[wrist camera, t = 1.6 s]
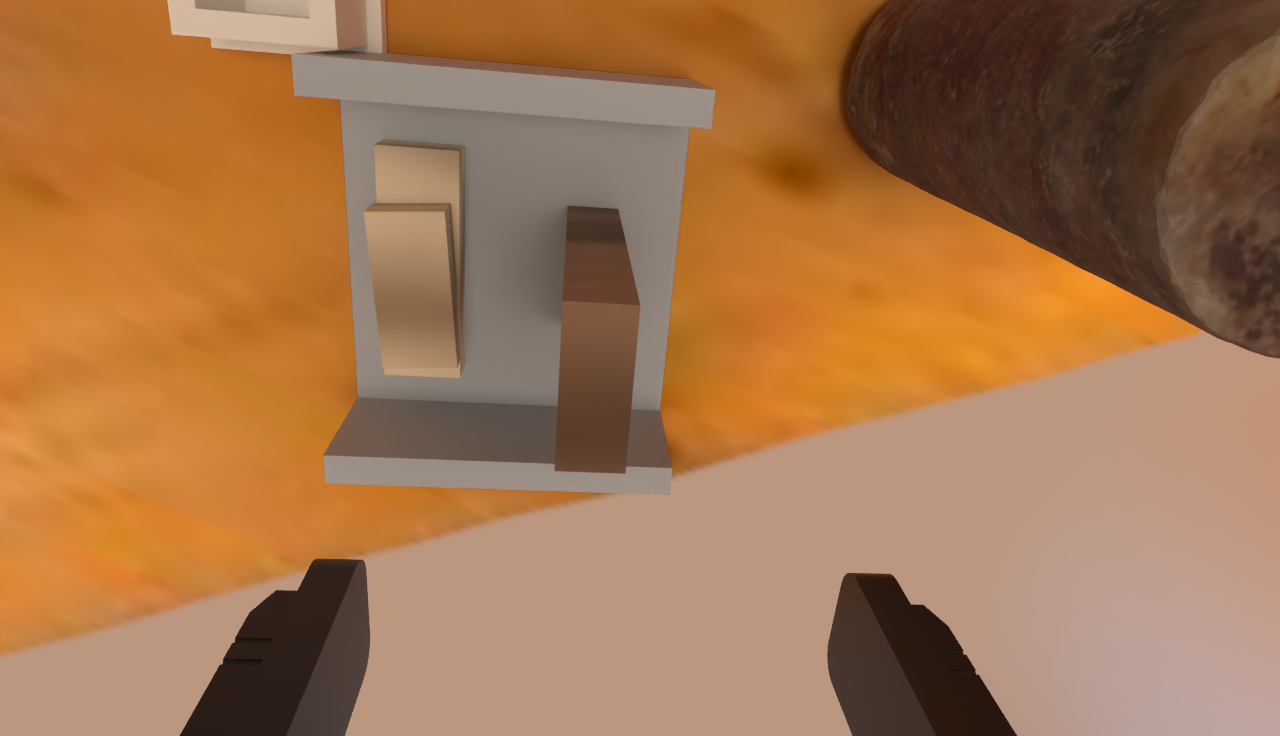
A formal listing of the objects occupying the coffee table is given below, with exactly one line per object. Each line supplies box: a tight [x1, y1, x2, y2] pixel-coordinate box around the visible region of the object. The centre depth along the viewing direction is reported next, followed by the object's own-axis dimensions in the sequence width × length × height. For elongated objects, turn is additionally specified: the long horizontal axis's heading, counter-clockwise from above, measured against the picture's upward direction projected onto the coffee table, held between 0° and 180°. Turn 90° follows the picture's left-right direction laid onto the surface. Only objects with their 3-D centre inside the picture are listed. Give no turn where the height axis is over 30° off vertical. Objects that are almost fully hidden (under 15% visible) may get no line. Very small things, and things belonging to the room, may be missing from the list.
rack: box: [291, 50, 716, 495], centre depth 30 cm, size 15×13×6 cm
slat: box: [554, 205, 640, 474], centre depth 27 cm, size 5×2×12 cm, turn 175°
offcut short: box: [364, 203, 463, 369], centre depth 30 cm, size 6×3×2 cm, turn 179°
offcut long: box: [374, 139, 465, 378], centre depth 31 cm, size 9×3×2 cm, turn 175°
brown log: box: [846, 0, 1280, 358], centre depth 22 cm, size 8×7×20 cm
